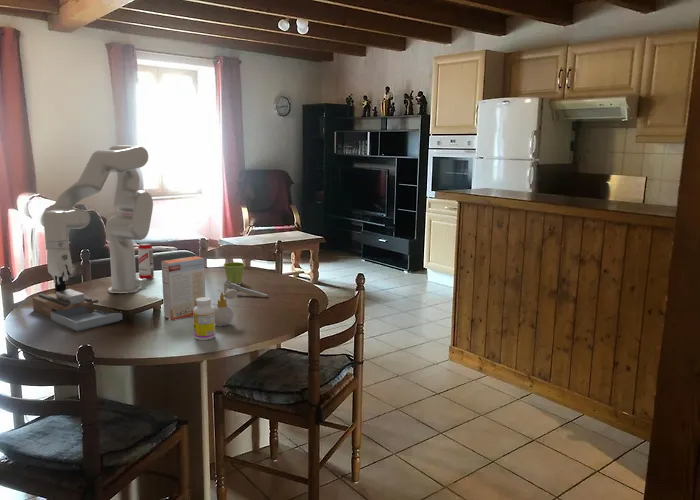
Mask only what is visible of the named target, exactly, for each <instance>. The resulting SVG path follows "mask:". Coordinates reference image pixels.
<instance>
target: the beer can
mask: <svg viewBox="0 0 700 500" xmlns="http://www.w3.org/2000/svg"><path fill="white" fill-rule="evenodd" d="M138 244H139V245H138V248H137V255H138V256H137V257H138V260H137V261H138V276H139V278H140V279H144V278H146V279H147V281H148V280H152V279H153V278H154V275H155V273H154V272H155V271H154V253H153V246H152V243H150V242H149V243H148V242H142V243H138Z"/></svg>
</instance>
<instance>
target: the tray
mask: <svg viewBox="0 0 700 500" xmlns="http://www.w3.org/2000/svg"><path fill="white" fill-rule="evenodd" d="M120 320H122V321H123V313H122V314H121V313H104V312H101V311H94V312H92V313H88V312H87V309H86V308H85V307H84V306H80V307H75V308H70V309H66V310H61V311H53V312H51V318H50V321H52V322H55V323H57V324H59V325H61V326H62V327H65V328H67V329H70V330H72V331H74V332H78V333H79V332H82V331H86V330H89V329H93V328H98V327H102V326H105V325H110V324H114V323H118V322H121V321H120Z"/></svg>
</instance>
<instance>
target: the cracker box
mask: <svg viewBox="0 0 700 500" xmlns="http://www.w3.org/2000/svg"><path fill="white" fill-rule="evenodd" d="M161 279H162V280H161V281H162V295H163V296H162V298H163V299H162V301H163V314H164V315H163V316H164V318H165V317H166V319H167V318H168V319H167V320H169V319H170V321H175V319H177V320H180V318H181V319H184V318H189V316H190V317H193V309H194V308H195V307H196V306H197V304H196V299H197V298H201V297H206V274H205V258H204V257H200V256H198V255H195V256H189V257H181V258H176V259H175V258H174V259H168V260H161Z"/></svg>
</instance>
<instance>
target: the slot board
mask: <svg viewBox="0 0 700 500" xmlns="http://www.w3.org/2000/svg"><path fill="white" fill-rule="evenodd" d="M84 298H85V302H82V303H77V304H73V305H70V304H68V303H66V302H63V301H60V300H58V299H57V296H56V294H55V292H54V293H49V294H45V293H38V296H33V297H32V299H31V300H32V309H33V311H34V312H36V313H38V314H40V315H42V316H45V317H47V318H49V319H51V312H53V311H61V310H66V309H70V308H75V307H80V306H84V305H89V304H93V303H98V304H99V299H97V298H94V297H92V296H88V295H86V294H84Z"/></svg>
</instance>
